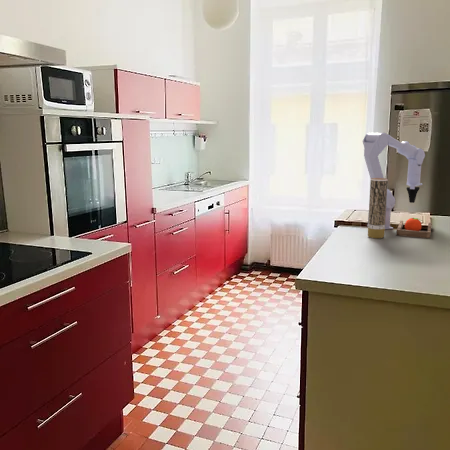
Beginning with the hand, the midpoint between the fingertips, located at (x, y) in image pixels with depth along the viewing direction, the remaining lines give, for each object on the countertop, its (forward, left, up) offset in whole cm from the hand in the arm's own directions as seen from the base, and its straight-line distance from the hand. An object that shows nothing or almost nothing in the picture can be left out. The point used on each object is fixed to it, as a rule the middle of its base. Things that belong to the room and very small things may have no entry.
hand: (412, 202), depth 225 cm
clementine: (-8, -19, -11) cm, 23 cm away
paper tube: (-27, -23, -11) cm, 37 cm away
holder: (-6, -16, -10) cm, 20 cm away
